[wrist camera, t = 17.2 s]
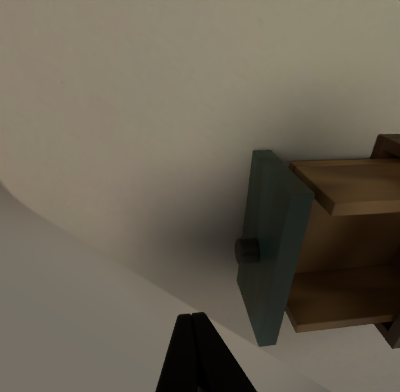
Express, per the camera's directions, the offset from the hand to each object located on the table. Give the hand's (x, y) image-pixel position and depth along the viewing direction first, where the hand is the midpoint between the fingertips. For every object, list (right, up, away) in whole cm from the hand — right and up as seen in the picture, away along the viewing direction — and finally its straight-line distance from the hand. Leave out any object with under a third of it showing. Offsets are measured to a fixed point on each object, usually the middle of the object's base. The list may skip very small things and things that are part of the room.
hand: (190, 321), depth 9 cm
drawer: (+10, +2, +13) cm, 16 cm away
